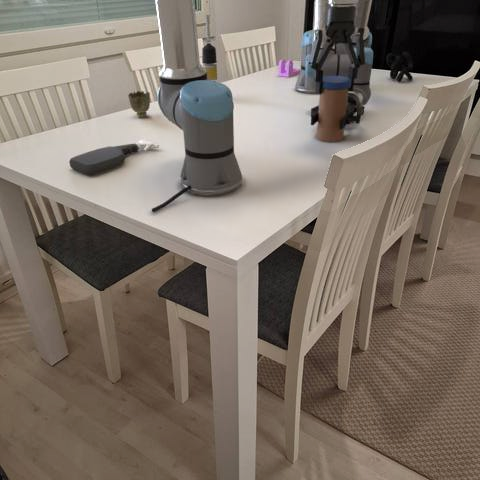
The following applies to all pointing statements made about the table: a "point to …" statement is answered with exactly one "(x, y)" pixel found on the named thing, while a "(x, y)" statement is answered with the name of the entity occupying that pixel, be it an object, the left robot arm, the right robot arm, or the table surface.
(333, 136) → the jar
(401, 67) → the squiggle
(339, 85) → the lid
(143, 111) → the cup
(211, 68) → the black tall bottle
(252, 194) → the table surface
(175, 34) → the left robot arm
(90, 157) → the spray bottle
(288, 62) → the bracket
